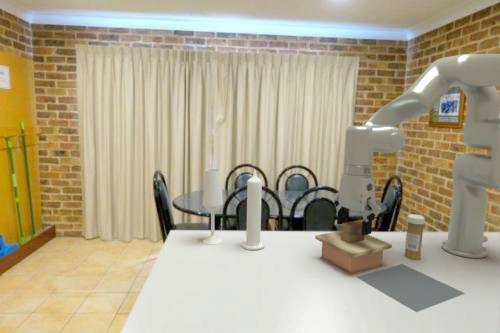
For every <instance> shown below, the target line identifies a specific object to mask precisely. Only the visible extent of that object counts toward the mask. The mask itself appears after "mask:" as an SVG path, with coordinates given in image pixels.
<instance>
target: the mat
mask: <svg viewBox="0 0 500 333" xmlns="http://www.w3.org/2000/svg"><path fill="white" fill-rule="evenodd" d="M356 278H357V279H359V280H360V281H362V282H364V283H365V284H367V285H369V286H371V287H372V288H374V289H376V290H377V291H378V292H381V293H383V294H384V295H385V296H388V297H389V298H392V299H393V300H395V301H396V302H397V303H400V304H402V305H403V306H405V307H406V308H409V309H410V310H411V311H414V312H415V313H418V312H420V311H423V310H426V309H428V308H430V307H434V306H436V305H439V304H441V303H443V302H444V303H445V302H446V301H449V300H452V299H455V298H457V297H459V296H462V295H464V294H466V292H464V291H461V290H459V289H457V288H454V287H453V286H451V285H448V284H447V283H444V282H441V281H440V280H438V279H435V278H434V277H431V276H429V275H427V274H425V273H423V272H420V271H418V270H416V269H414V268H413V267H409V266H407V265H406V264H403V263H401V264H397V265H393V266H390V267H386V268H382V269H379V270H376V271H373V272H369V273H364V274H361V275H356Z"/></svg>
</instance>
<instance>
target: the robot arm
mask: <svg viewBox="0 0 500 333" xmlns="http://www.w3.org/2000/svg"><path fill="white" fill-rule="evenodd" d="M496 87H500V53H465V54H464V53H463V54H457V55H453V56H452V55H451V56H446V57H442V58H438V59H436V60H434V61H433V62H431V64H429V66H428V67H427V68H426V69H425V70H424V71H423V72H422V74H421V75H420V76H419V77H418V78H417V79H416V80H415V81H414V82H413V84H411V86H409V88H408V89H406V91H404V93H402V94H401V95H399V96H397V97H396V98H394V99H392V100H391V101H389V102H388V103H386V104H385V105H383V106H382V107H381V108H379V109H378V110H377V111H376V112H374V113H373V114H372V116H370V118H369V119H368V120H367V121H366V122H365V124H364V125H350V126H348V127H347V128H346V130H345V131H346V132H345V141H344V142H345V143H344V144H345V145H344V156H343V157H344V158H343V159H344V160H343V173H342V174H341V178H340V181H339V182H340V183H339V188H338V189H339V190H338V192H336V193H335V192H334V193H332V197H333V201H334V205H335V207H336V208H335V210H336V211H337V215H336V216H337V217H336V224H337V225H342V223H346V222H347V221H348V220H347V218H348V216H347V215H348V210H350V211H352V212H356V213H360V215H361V217H362V218H363V220H362V221H361V222H362V231H361V234H362V235H371V234H372V228H373V222H374V221H375V219H377V218H378V217H379V214H380V213H381V210H382V208H381V207H380V206H379V205H378V204H377V203H376V185H375V178H374V176H373V174H374V173H375V172H374V169H373V159H374V152H376V153H383V154H384V153H386V154H392V153H397V152H399V151H400V150H402V149H403V147H404V146H405V143H406V135H405V133H404V131H403V130H402V129H401V128H398V127H397V126H398V125H400V124H402V123H404V122H405V121H409V120H412V119H415V118H418V117H421V116H423V115H426V114H427V113H429V112H430V111H431V110H432V109H433V108H434V107H435V105H437V104H438V102H439V101H440V100H441V99H442V98H443V97H444V96H445V94H446V93H447V92H448V91H449V90H451V89H452V88H460V89H461V91H463V93H464V95H465V98H466V102H467V103H466V113H465V114H466V115H465V120H464V127H463V133H462V134H463V135H462V140H463V143H464V145H465V146H466V147H469V148H472V149H475V150H481V151H482V150H485V151H490V152H491V155H489V154H485V153H479V152H478V153H477V152H465V153H462V154H460V155H458V156H457V157H456V158H455V159H454V160H453V163H452V167H451V173H452V181H453V182H452V183H453V185H452V187H453V188H452V189H453V190H452V201H451V207H450V215H449V216H450V217H449V224H448V225H449V226H448V233H447V240H446V239H445V240H443V241H442V242H441V248H442V249H443V250H444V251H446V252H448V253H450V254H453V255H456V256H458V257H463V258H464V257H465V258H470V259H480V258H481V259H482V258H485V257H487V255H488V250H487V249H486V247H485V248H484V247H483V243H486V242H488V241H489V238H488V237H487V236H486V235H484V233H485V228H486V227H485V226H486V219H487V214H488V213H487V212H488V205H489V196H488V192H487V189H492V190H497V191H500V94H499V93H500V92H498V90H497V88H496ZM486 188H487V189H486ZM347 209H348V210H347Z"/></svg>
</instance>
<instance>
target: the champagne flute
mask: <svg viewBox="0 0 500 333" xmlns="http://www.w3.org/2000/svg"><path fill="white" fill-rule="evenodd" d="M221 174H222V173H221V169H219V168H209V169H208V168H207V169H205V173H204V184H203V195H202V206H203V207H204V208H205V210H207V212H209V213H210V235H209V236H207V237H205V238H204V239H202V243H203V244H206V245H213V246H214V245H220V244H221V243H222V242H223V241H224V240H223V239H222V238H220V237H219V236H217V235H216V234H215V214H216V213H217V212H218V211H220V209H221V208H222V207H223V205H224V198H223V186H222V185H223V184H222V175H221Z"/></svg>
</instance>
